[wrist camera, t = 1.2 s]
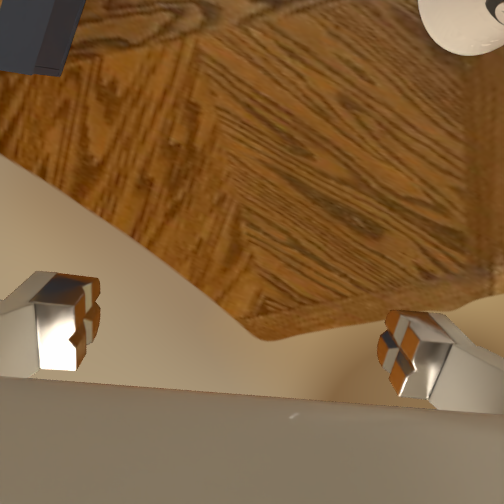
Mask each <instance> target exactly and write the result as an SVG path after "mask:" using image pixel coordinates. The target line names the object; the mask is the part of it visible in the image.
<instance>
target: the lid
mask: <svg viewBox="0 0 504 504" xmlns="http://www.w3.org/2000/svg"><path fill="white" fill-rule="evenodd" d="M54 2H55V0H0V70H3V71H9V72H15V73H21V74H27V75H32V74H33V71H34V68H35V64H36V61H37V58H38V55H39V51H40V48H41V45H42V42H43V38H44V35H45V32H46V28H47V25H48V22H49V19H50V15H51V12H52V9H53V6H54Z"/></svg>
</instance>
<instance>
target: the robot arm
mask: <svg viewBox="0 0 504 504" xmlns="http://www.w3.org/2000/svg"><path fill="white" fill-rule="evenodd" d="M418 6H419V12H420V16H421V19H422V22H423V24H424V26H425V28H426V30H427V32H428V33H429V35H430V36H431V37H432V39H433V40H434V41H435V42H436V43H437V44H438V45H440V46H441V47H442V48H444V49H446V50H447V51H450V52H452V53H455V54H459V55H467V56H471V55H480V54H484V53H487V52H490V51H493V50H495V49H497V48H499V47H501V46H503V45H504V0H418ZM99 294H100V281H99V279H98V278H94V277H86V276H77V275H69V274H61V273H57V272H43V271H36V272H35V273H34V274H32V275H31V276H30V277H29V278H28V279H27V280H26V281H24V282H23V283H22V284H21V285H20V286H19V287H18V288H17V289H15V290H14V292H12V293H11V294H10V295H9V296H8V297H6V299H4V300H0V504H504V358H503V357H501V356H499V355H497V354H495V353H493V352H491V351H489V350H487V349H485V348H483V347H479V346H476V345H475V344H474V343H472V341H471V340H470V339H469V338H468V337H466V335H464V333H463V332H462V331H461V330H460V329H459V328H458V327H457V326H456V325H455V324H454V323H453V322H452V321H451V320H450V319H449V318H448V317H447V316H446V315H443V314H441V313H428V312H417V311H405V310H390V312H389V313H388V315H387V317H386V320H385V325H386V327H387V330H386V331H385V332H384V333H383V334H381V335H380V338H379V341H378V345H377V355H378V360H379V363H380V364H381V366H382V368H383V369H385V370H386V371H388V372H389V373H390V376H389V381H390V382H391V384H392V386H393V388H394V389H395V391H396V393H397V395H398V396H399V397H408V398H417V399H425V400H429V402H430V403H431V404H432V405H433V406H435V407H436V408H437V409H425V408H412V407H398V406H385V405H373V404H360V403H346V402H333V401H319V400H306V399H294V398H280V397H268V396H255V395H241V394H228V393H215V392H203V391H189V390H176V389H164V388H149V387H137V386H124V385H111V384H98V383H85V382H71V381H58V380H46V379H33V378H29V377H30V376H32V375H33V374H35V373H36V372H38V371H39V369H51V370H69V371H70V370H71V371H77V369H78V367H79V365H80V364H81V362H82V360H83V358H84V357H85V355H86V345H88V344H90V343H92V342H93V340H94V338H95V336H96V334H97V331H98V327H99V322H100V307H99V306H98V304H97V303H96V302H95V301H96V299H97V298H98V296H99Z"/></svg>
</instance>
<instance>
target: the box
mask: <svg viewBox="0 0 504 504" xmlns="http://www.w3.org/2000/svg"><path fill="white" fill-rule="evenodd" d="M85 1H86V0H55V2H54V6H53V9H52V12H51V15H50V19H49V22H48V25H47V28H46V32H45V35H44V38H43V42H42V45H41V48H40V51H39V55H38V58H37V61H36V64H35V68H34V71H33V74H40V75H49V76H59V77H60V76H61V74H62V71H63V67H64V64H65V61H66V58H67V55H68V52H69V49H70V46H71V43H72V40H73V37H74V34H75V31H76V28H77V25H78V22H79V19H80V16H81V13H82V10H83V7H84V4H85Z"/></svg>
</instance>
